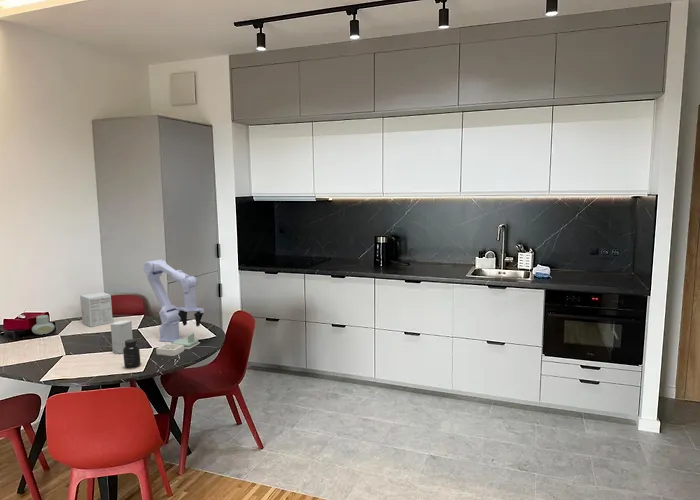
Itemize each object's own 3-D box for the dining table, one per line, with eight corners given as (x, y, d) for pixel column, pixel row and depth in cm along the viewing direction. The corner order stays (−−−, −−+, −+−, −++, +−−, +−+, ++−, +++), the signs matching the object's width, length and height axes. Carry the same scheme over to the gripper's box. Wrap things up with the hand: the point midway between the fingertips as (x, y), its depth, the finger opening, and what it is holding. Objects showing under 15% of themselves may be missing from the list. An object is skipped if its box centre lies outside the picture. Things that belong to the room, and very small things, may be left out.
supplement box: (113, 322, 297) (111, 294, 295) (90, 327, 287) (88, 298, 285) (104, 319, 305) (102, 291, 303) (81, 323, 296) (79, 295, 293)
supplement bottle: (127, 363, 226) (125, 338, 224) (142, 363, 226) (141, 338, 225) (121, 369, 219) (120, 343, 217) (137, 368, 219) (135, 342, 218)
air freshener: (33, 337, 269) (31, 319, 268) (31, 333, 276) (29, 316, 274) (56, 333, 276) (54, 316, 275) (53, 330, 282) (52, 313, 281)
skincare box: (121, 354, 239) (119, 324, 237) (111, 353, 241) (109, 323, 239) (134, 348, 247) (132, 320, 245) (124, 347, 249) (122, 319, 247)
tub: (156, 354, 238) (156, 348, 237) (166, 349, 245) (166, 343, 245) (174, 356, 235) (174, 350, 235) (184, 350, 243) (183, 345, 242)
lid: (171, 346, 249) (170, 335, 248) (180, 341, 257) (180, 331, 256) (189, 347, 246) (188, 337, 246) (198, 342, 254) (197, 332, 254)
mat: (168, 347, 248) (168, 346, 248) (180, 341, 258) (180, 340, 258) (189, 349, 245) (189, 348, 245) (200, 342, 255) (200, 342, 255)
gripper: (173, 301, 250) (174, 326, 252) (198, 302, 247) (199, 328, 248) (181, 298, 257) (182, 323, 259) (205, 299, 253) (207, 324, 255)
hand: (191, 325), depth 254 cm, fingers open, 7 cm apart
